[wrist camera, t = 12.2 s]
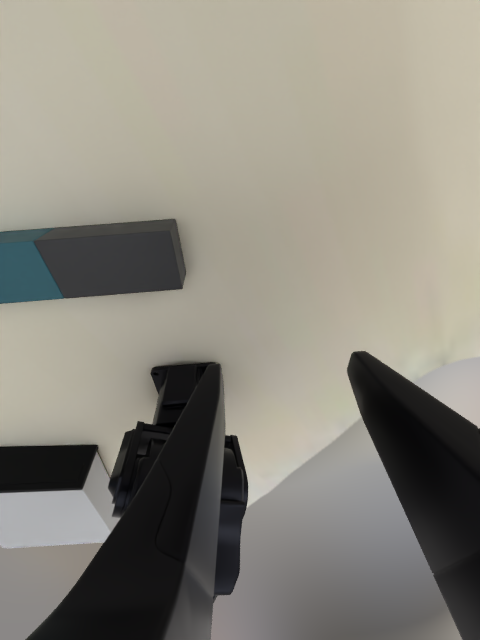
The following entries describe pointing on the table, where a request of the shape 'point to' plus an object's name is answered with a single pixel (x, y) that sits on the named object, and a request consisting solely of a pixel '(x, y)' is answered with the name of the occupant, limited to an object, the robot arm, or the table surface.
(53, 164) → the table surface
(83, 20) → the table surface
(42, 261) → the slat
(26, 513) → the disc drive
